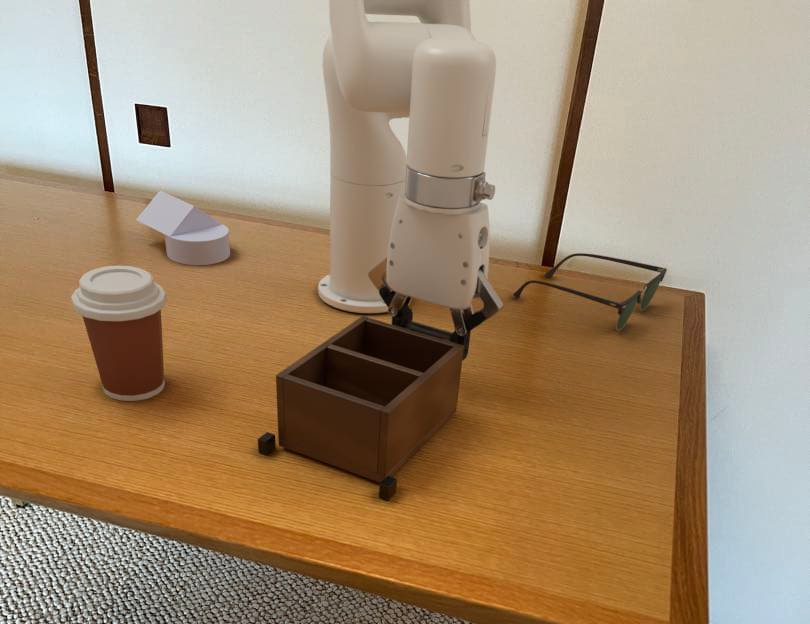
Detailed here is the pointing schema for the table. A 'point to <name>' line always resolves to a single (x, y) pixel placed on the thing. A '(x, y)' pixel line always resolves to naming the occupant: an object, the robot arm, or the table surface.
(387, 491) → the dark brown rod
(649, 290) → the sunglasses
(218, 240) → the wedge on round base
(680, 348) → the table surface
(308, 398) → the shelf
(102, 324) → the coffee cup
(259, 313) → the table surface
